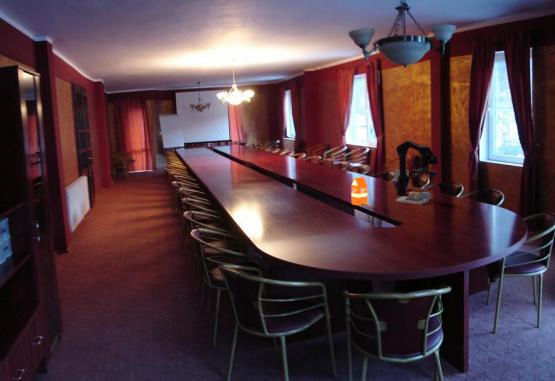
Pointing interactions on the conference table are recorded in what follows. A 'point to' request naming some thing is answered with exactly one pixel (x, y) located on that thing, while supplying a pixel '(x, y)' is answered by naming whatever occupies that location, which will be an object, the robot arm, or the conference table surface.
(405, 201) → the grey tray
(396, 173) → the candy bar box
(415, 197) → the birch block
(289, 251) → the conference table surface
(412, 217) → the conference table surface
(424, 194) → the teal block
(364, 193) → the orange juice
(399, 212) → the conference table surface
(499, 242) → the conference table surface
